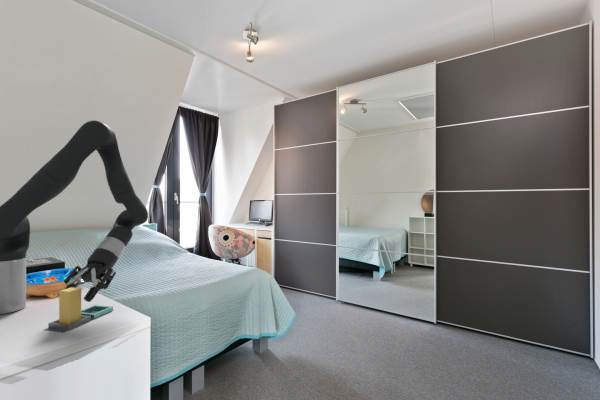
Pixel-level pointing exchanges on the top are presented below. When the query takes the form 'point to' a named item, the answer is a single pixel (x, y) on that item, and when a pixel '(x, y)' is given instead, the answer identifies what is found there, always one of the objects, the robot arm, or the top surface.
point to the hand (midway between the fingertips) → (74, 299)
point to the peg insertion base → (86, 316)
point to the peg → (69, 305)
